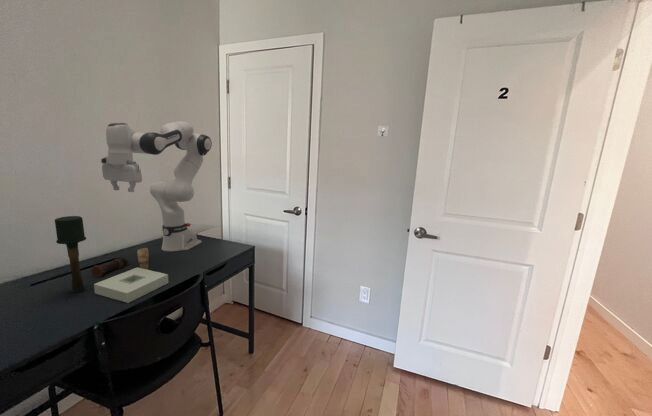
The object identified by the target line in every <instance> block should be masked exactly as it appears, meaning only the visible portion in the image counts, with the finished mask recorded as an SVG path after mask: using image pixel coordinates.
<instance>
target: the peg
mask: <svg viewBox="0 0 652 416" xmlns="http://www.w3.org/2000/svg"><path fill="white" fill-rule="evenodd" d="M149 256H150V255H149V248H147V247H144V248H143V247H142V248H139V249H137V263H138V264H139V268H142V269H147V270H149V263H150V257H149Z"/></svg>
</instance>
